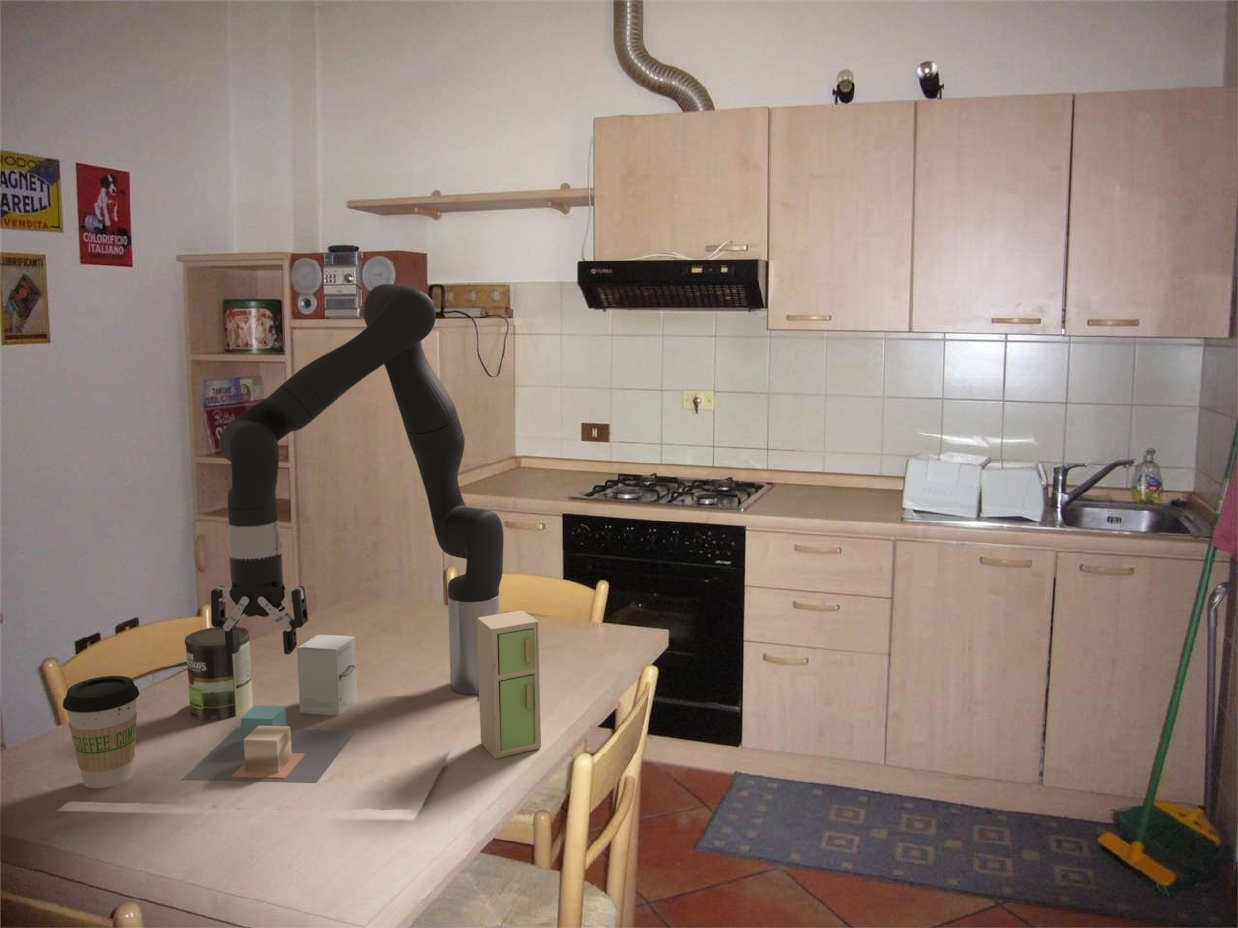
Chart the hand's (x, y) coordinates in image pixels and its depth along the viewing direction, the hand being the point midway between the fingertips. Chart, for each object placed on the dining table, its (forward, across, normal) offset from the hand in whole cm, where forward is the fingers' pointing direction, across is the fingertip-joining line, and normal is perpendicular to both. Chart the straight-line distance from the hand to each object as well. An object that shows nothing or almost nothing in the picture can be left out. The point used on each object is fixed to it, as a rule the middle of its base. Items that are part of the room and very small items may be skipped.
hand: (262, 652), depth 153 cm
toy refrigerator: (+16, +38, +2) cm, 42 cm away
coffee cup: (+16, -19, -12) cm, 28 cm away
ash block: (+15, +3, -8) cm, 17 cm away
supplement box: (+16, +5, +15) cm, 23 cm away
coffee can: (+16, -13, +14) cm, 25 cm away
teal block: (+15, -1, 0) cm, 15 cm away
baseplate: (+16, +2, -4) cm, 17 cm away
